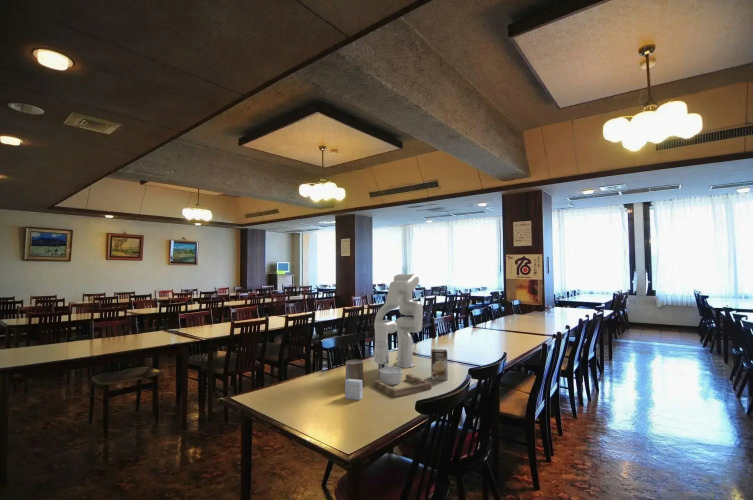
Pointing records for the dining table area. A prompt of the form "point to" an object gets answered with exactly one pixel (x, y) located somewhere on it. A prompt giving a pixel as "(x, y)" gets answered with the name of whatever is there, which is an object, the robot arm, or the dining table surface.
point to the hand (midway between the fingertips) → (382, 375)
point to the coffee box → (439, 364)
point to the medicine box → (353, 389)
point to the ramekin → (391, 375)
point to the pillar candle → (354, 369)
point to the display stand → (420, 386)
